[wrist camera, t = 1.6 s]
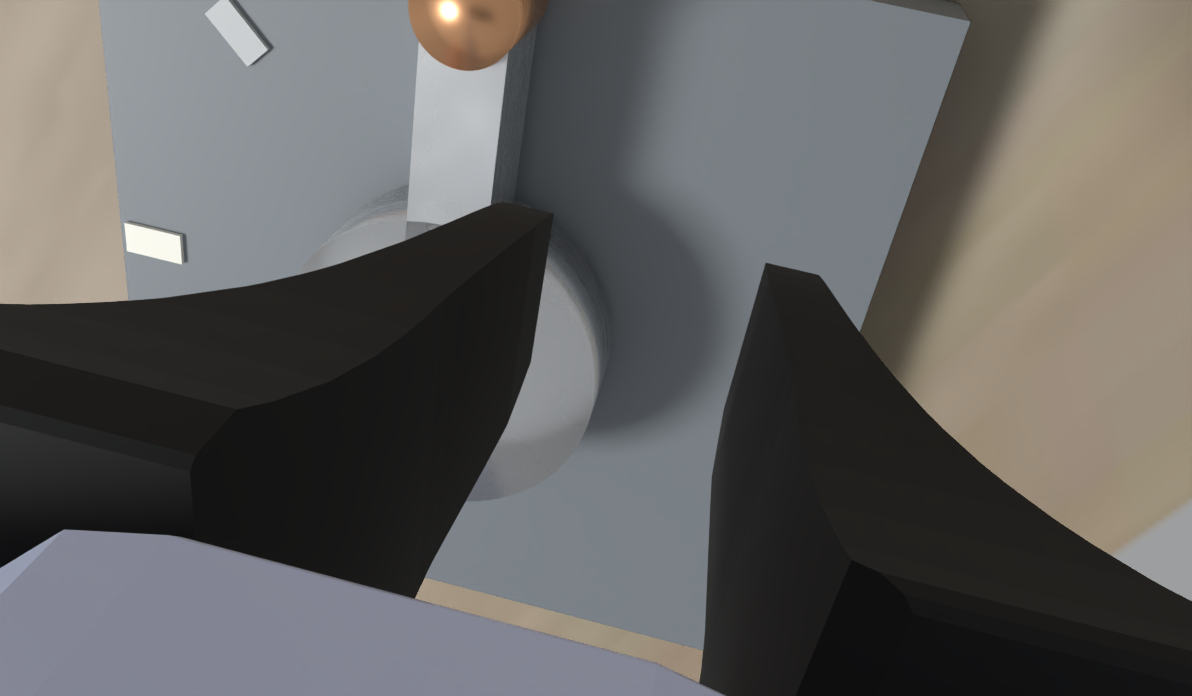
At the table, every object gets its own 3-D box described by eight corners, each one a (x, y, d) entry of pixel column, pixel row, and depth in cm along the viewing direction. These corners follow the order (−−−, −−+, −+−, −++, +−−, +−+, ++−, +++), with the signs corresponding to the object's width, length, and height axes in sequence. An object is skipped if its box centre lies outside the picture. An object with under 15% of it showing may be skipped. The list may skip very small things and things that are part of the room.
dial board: (745, 617, 26) (741, 663, 25) (179, 470, 27) (146, 507, 26) (959, 3, 18) (971, 23, 17) (130, -170, 19) (78, -165, 18)
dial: (585, 475, 23) (564, 539, 21) (319, 408, 23) (275, 465, 21) (688, -28, 17) (672, -3, 15) (328, -104, 17) (270, -89, 15)
